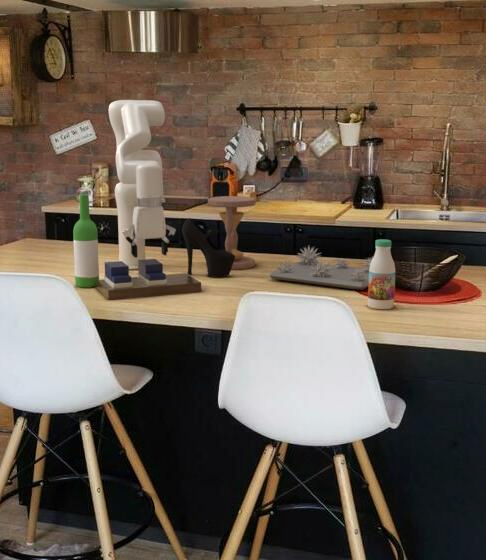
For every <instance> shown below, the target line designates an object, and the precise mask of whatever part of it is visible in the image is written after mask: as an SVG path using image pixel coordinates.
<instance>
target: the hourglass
mask: <svg viewBox="0 0 486 560" xmlns="http://www.w3.org/2000/svg"><path fill="white" fill-rule="evenodd" d="M207 205H208V206H210V207H216V208H225V211H219V212H218V214H219V218H220V219H221V220H222V222H223V223H224V228H225V232H226V237H225V241H224V247H225V249H224V250H226V251H228V252H230V253H232V254H234V256H235V259H234V263H233V265H232V268H231V271H235V270H246V269H247V270H248V269H251V268H254V267H255V266H256V260H255V258H253V257H250V256H245V255H244V252H242V251H240V250H238V241H239V236H238V232H237V227H238V226H239V224H240V222H241V220H242V219H243V218H244V215H245V212H244V211H238V208H248V207H253V206H254V207H255V205H256V199H255V197H251V196H239V195H224V196H223V195H222V196H221V195H220V196H211V197H208V198H207Z"/></svg>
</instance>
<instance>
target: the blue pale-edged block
mask: <svg viewBox="0 0 486 560" xmlns="http://www.w3.org/2000/svg"><path fill="white" fill-rule="evenodd" d="M163 266H164V265H163V263H162V262H161V261H159V260H157V259H156V258H149V259H145V260H138V269H137V271H138V272H137V277H138V278H139V279H140V280H141V281H143V282H144V283H145V284H147V285H148V286H153V285H166V284H167V280H166V275H167V274H166V273H164V267H163Z"/></svg>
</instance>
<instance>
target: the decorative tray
mask: <svg viewBox="0 0 486 560" xmlns="http://www.w3.org/2000/svg"><path fill="white" fill-rule="evenodd" d="M310 246H311V245H310V244H309V245H307V247H306V246H304V247H303V249H302V248H300V249H299V250H300V251H301V253H300V252H298V253H297V252H296V253H297V255H296V257H298V258H300V259H298V260H297V261H296V262H294V263H292V262H291V263H289V262H287V261H286V260H284V262H281V263H282V264H281V263H279V266H276V267H278V268H276V269H275V270H272V271H271V272H270V273H268V275H269V277H270V278H271V279H272V280H279V281H280V280H281V281H288V282H295V283H304V284H312V285H320V286H327V287H335V288H343V289H350V290H358V291H359V290H360V291H363V290H365V289H368V283H369V268H370V264H371V261H372V259H373V257H374V255H373V256H371V257H367V258H364V260H365V262H363V264H362V266H363V267H356V266H349V265H350V263H349V261H348V259H346V258H343V257H341V258H339V259H336V261H334V264H330V263H329V262H327V263H326V261H322V259H318V258H320V257H321V252H318V253H316V252H317V251H318V248H315V247H312V248H311V247H310ZM314 249H315V250H314Z"/></svg>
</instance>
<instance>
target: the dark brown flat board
mask: <svg viewBox="0 0 486 560" xmlns="http://www.w3.org/2000/svg"><path fill="white" fill-rule="evenodd" d="M166 280H167V284H166V285H153V286H148V285H147V284H145V283H144V282H143V281H141V280H140V279H139V278H138V276H131V282H132V283H133V287H128V288H116V289H113V288H112V287H111V286H110V285H109V284H108V283H107V282H106V281H104V278H103V279H99V280H97V286H96V288H97V290H98V291H99V292H100V294H102V295H103V296H104V298H106V299H107V300H108V301H111V300H112V301H113V300H123V299H135V298H145V297H146V298H147V297H157V296H169V295H178V294H180V295H181V294H192V293H201V292H202V282H201V281H200V280H198V279H196V278H194V277H192V276H191V275H188V273H186V272H184V273H183V272H181V273H171V274H166Z"/></svg>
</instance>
